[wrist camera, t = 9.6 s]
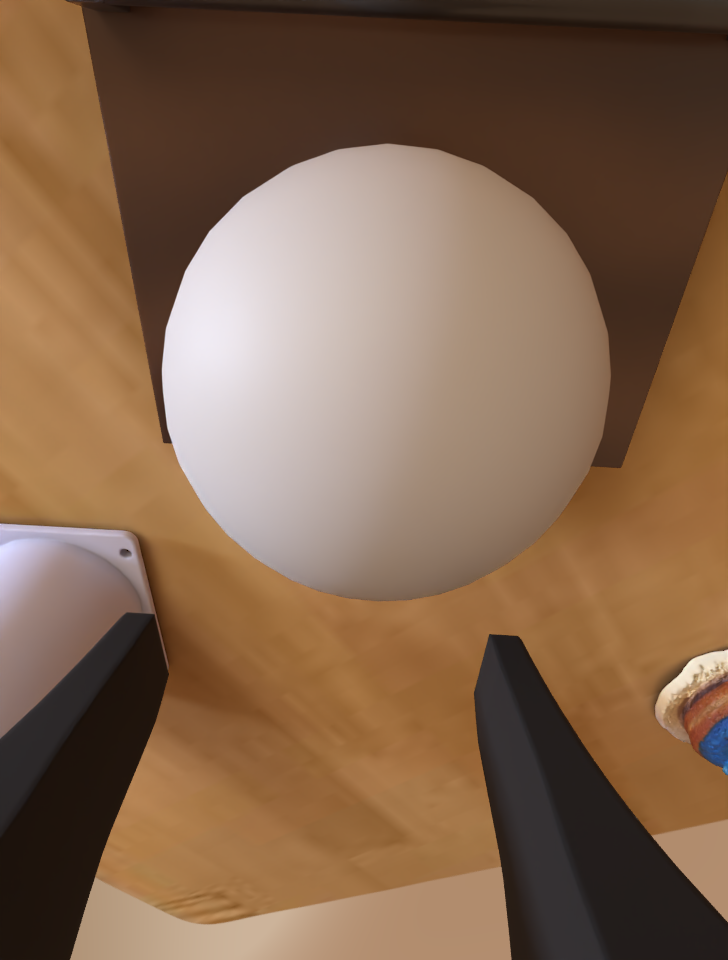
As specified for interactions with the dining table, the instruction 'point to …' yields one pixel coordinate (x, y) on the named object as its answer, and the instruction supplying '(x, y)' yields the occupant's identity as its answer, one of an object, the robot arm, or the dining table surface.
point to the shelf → (429, 131)
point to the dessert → (699, 707)
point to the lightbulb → (386, 372)
